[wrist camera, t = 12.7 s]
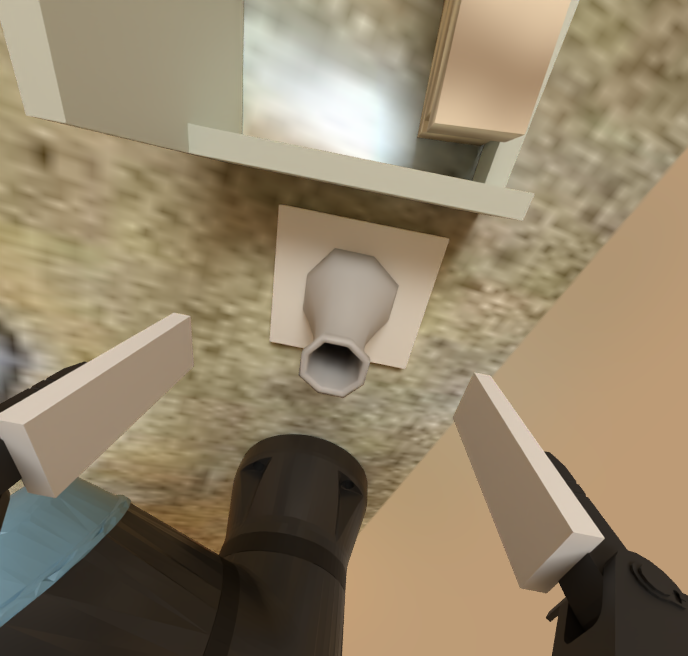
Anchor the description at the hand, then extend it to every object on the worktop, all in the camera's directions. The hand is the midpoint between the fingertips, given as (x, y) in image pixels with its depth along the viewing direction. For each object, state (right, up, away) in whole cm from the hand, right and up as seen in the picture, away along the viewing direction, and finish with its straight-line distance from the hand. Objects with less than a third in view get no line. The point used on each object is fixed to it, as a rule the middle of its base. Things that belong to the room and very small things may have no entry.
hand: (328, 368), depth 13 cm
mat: (+1, +5, +9) cm, 10 cm away
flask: (+1, +4, +9) cm, 10 cm away
